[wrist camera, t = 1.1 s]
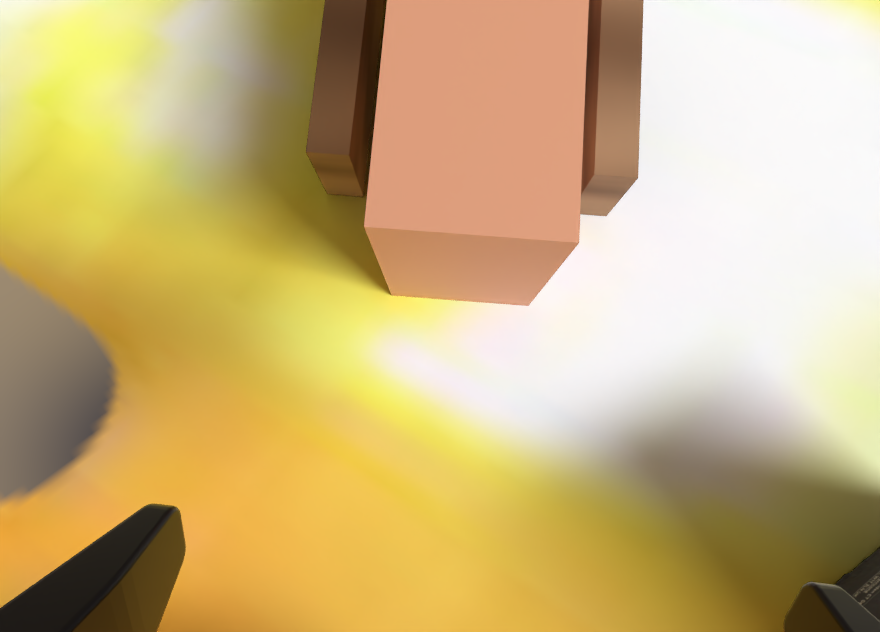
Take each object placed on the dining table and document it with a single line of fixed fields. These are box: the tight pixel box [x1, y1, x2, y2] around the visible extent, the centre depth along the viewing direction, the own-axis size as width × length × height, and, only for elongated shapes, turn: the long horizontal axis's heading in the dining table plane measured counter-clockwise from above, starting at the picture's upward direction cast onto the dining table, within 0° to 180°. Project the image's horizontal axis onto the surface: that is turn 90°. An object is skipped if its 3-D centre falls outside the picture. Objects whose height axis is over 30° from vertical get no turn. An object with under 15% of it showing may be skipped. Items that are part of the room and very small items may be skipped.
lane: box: [306, 0, 643, 216], centre depth 24 cm, size 14×12×4 cm
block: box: [364, 0, 589, 306], centre depth 21 cm, size 16×6×9 cm, turn 176°
